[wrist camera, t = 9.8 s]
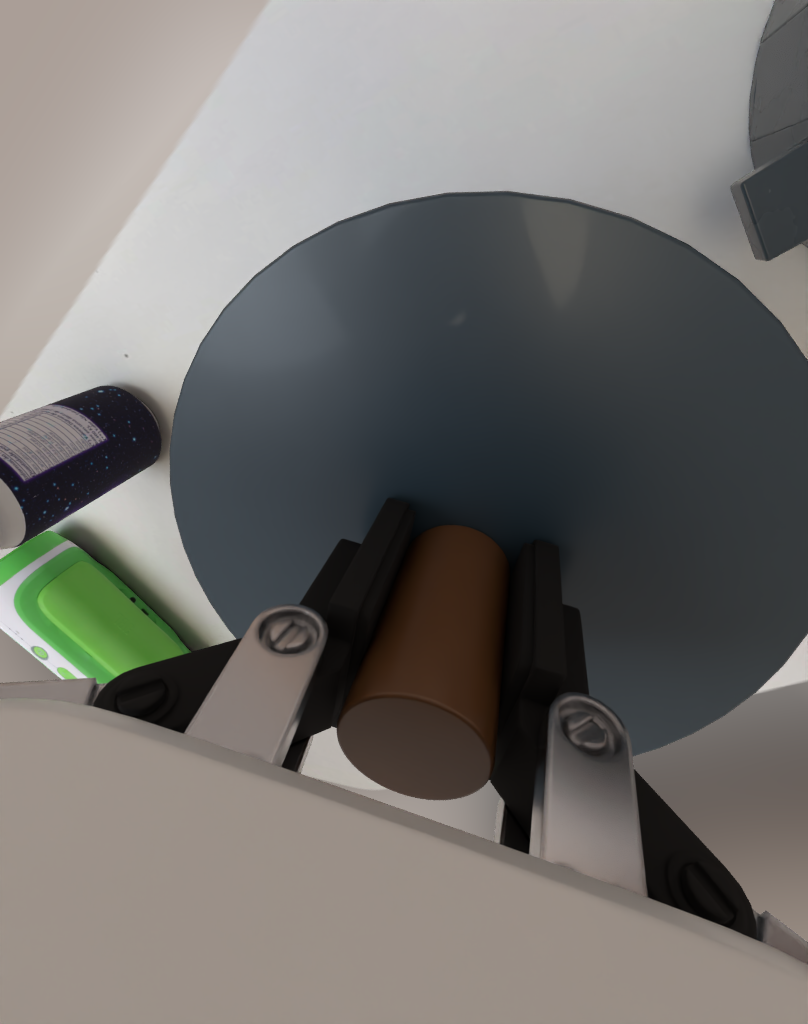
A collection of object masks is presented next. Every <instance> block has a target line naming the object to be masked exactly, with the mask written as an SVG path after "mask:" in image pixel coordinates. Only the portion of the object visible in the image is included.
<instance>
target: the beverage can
mask: <svg viewBox="0 0 808 1024" xmlns="http://www.w3.org/2000/svg"><path fill="white" fill-rule="evenodd" d="M160 452H161V435H160V429H159V425H158V422H157V420H156V418H155V416H154V414H153V413H152V412H151V410H150V409H149V408H148V407H147V406H146V405H145V404H144V403H143V402H142V401H140V400H139V399H137V398H136V397H135V396H133V395H132V394H130V393H129V392H127V391H125V390H123V389H120V388H117V387H114V386H99V387H96V388H93V389H91V390H88V391H85V392H82V393H80V394H77V395H74V396H71V397H69V398H66V399H63V400H60V401H57V402H55V403H52V404H49V405H46V406H44V407H41V408H38V409H35V410H33V411H30V412H27V413H24V414H21V415H19V416H16V417H13V418H10V419H8V420H5V421H2V422H0V549H7V548H14V547H18V546H20V545H22V544H24V543H25V542H27V541H28V540H30V539H32V538H33V537H35V536H37V535H38V534H40V533H42V532H43V531H45V530H46V529H48V528H50V527H51V526H53V525H55V524H56V523H58V522H59V521H61V520H63V519H64V518H66V517H68V516H69V515H71V514H73V513H74V512H76V511H77V510H79V509H81V508H82V507H84V506H86V505H87V504H89V503H90V502H92V501H94V500H95V499H97V498H99V497H100V496H102V495H103V494H105V493H107V492H108V491H110V490H112V489H113V488H115V487H117V486H118V485H120V484H121V483H123V482H125V481H126V480H128V479H130V478H131V477H133V476H134V475H136V474H138V473H139V472H141V471H143V470H144V469H146V468H147V467H149V466H151V465H152V464H153V463H155V461H156V460H157V459H158V457H159V455H160Z"/></svg>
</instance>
